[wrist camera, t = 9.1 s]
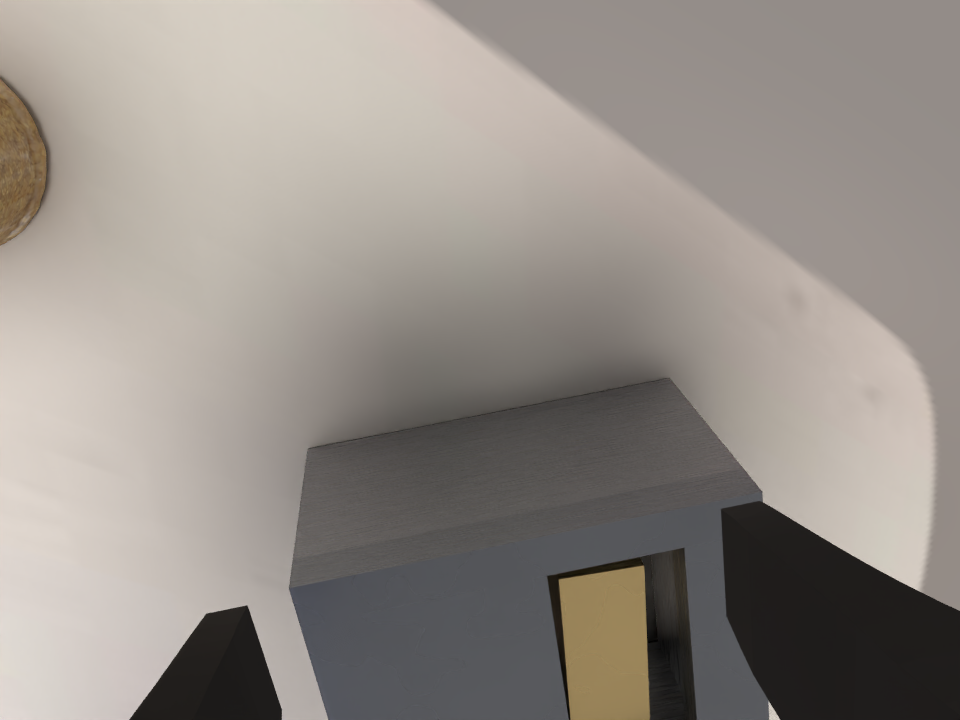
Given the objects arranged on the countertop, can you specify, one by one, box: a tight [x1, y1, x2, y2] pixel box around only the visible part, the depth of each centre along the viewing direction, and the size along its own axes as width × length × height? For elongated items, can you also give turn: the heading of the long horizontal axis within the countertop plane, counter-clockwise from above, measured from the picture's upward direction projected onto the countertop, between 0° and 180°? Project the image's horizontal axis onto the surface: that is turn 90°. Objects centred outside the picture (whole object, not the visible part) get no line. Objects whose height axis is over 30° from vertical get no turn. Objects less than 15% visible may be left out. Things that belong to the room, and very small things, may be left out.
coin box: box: [289, 378, 769, 720], centre depth 22 cm, size 10×10×6 cm
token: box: [547, 557, 650, 720], centre depth 23 cm, size 5×2×5 cm, turn 6°
